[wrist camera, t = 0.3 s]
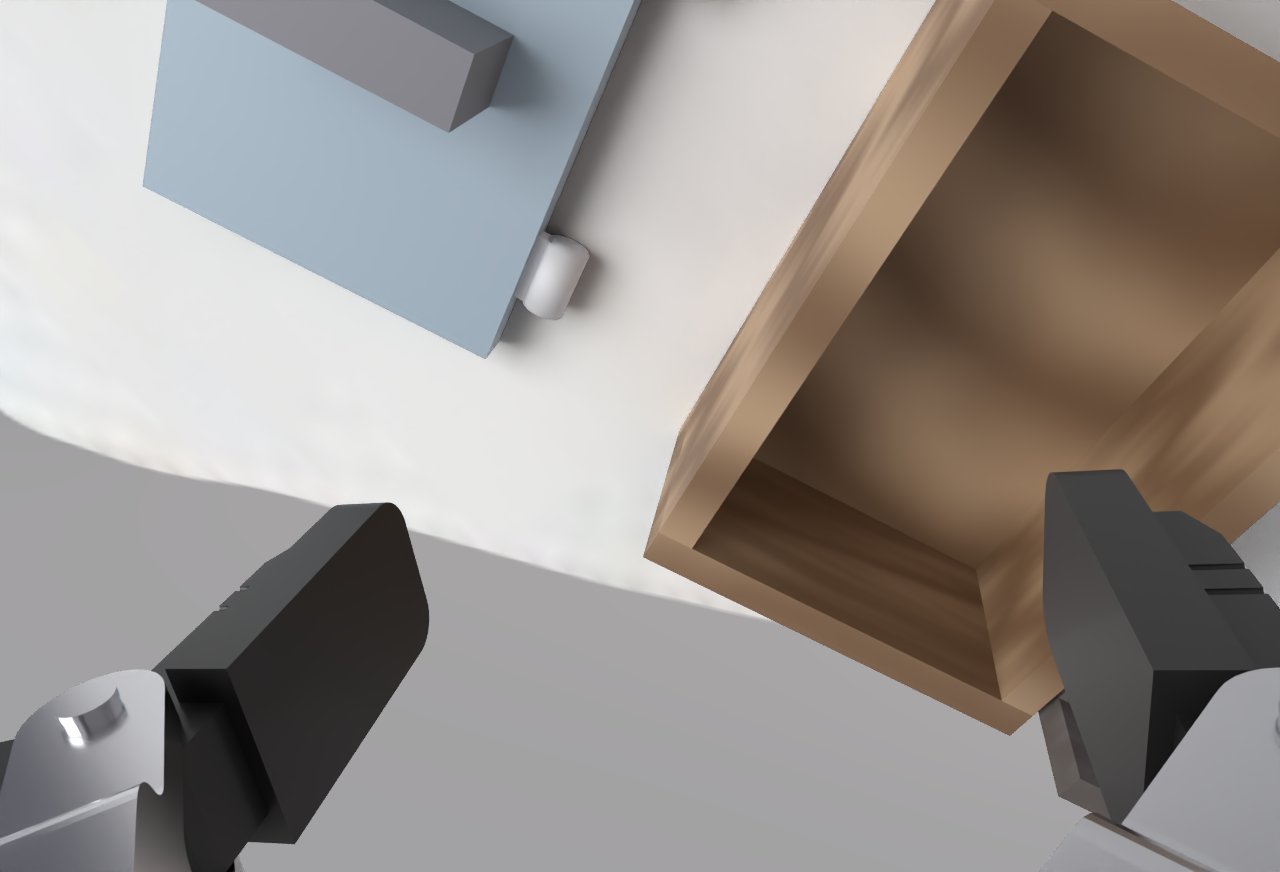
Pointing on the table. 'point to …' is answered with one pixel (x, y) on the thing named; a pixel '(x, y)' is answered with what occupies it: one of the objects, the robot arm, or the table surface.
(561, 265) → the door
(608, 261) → the table surface
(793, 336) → the brown wooden open box
